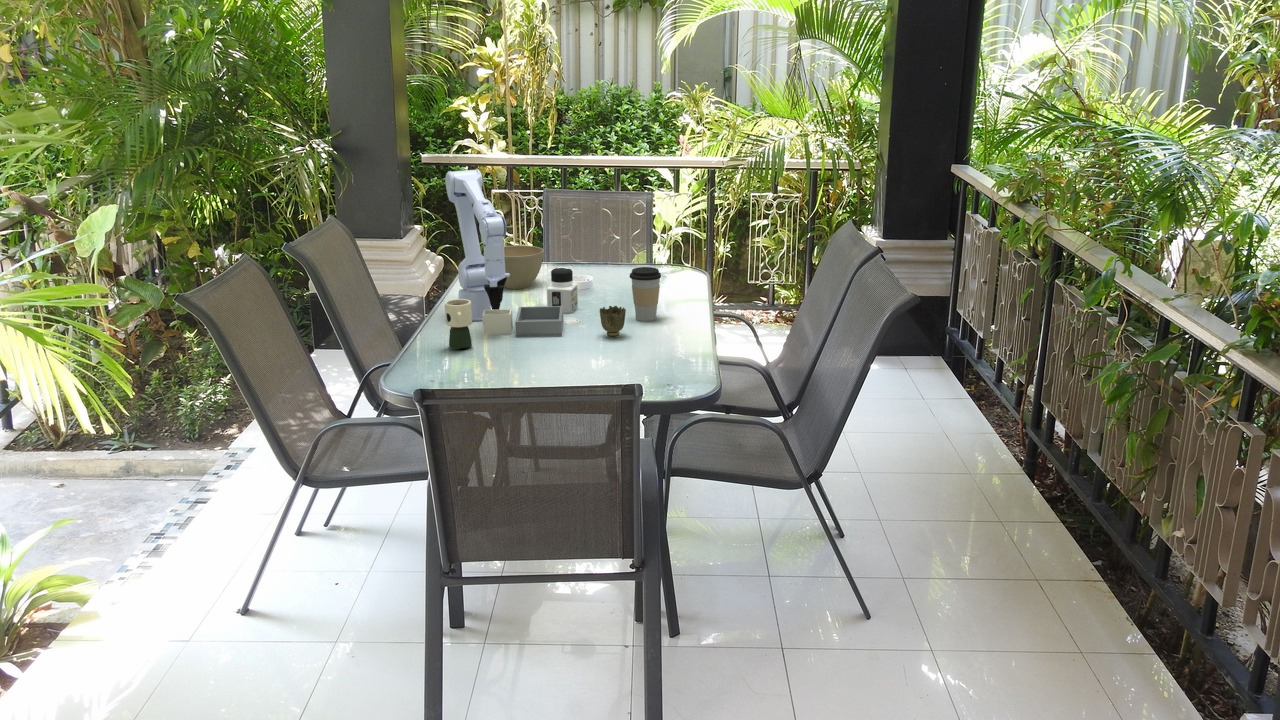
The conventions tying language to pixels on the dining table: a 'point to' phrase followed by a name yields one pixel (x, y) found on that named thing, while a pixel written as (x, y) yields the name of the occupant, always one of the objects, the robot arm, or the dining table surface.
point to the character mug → (459, 322)
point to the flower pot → (522, 265)
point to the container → (562, 290)
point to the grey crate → (539, 321)
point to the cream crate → (497, 321)
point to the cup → (612, 320)
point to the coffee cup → (645, 292)
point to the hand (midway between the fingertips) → (496, 305)
